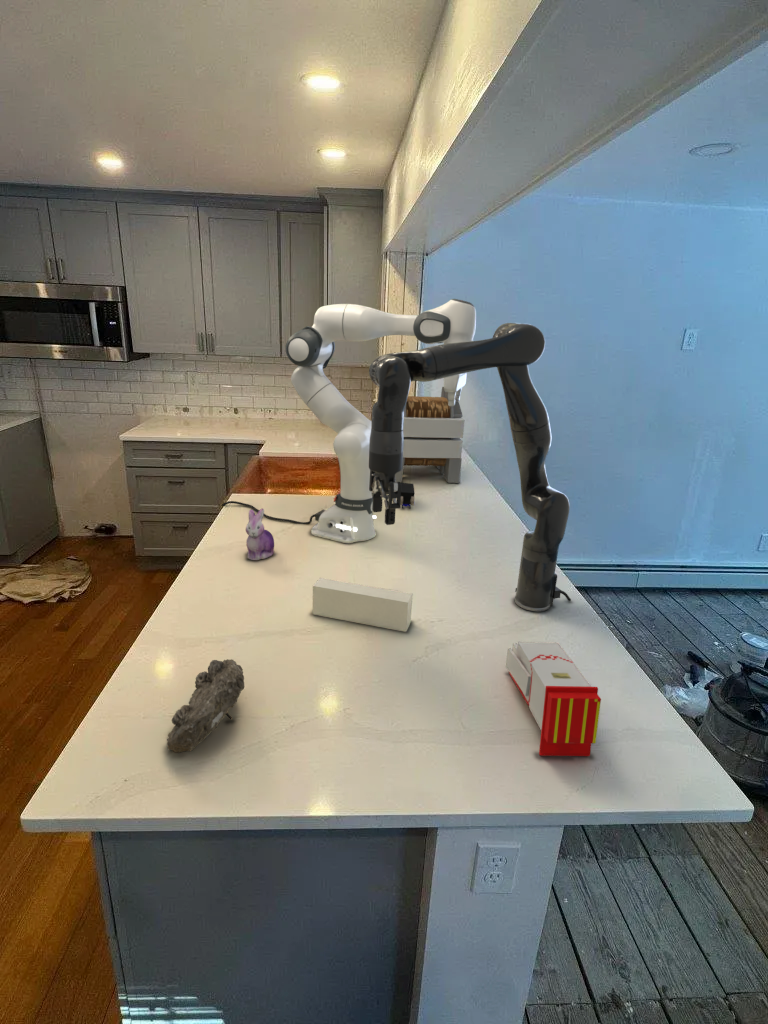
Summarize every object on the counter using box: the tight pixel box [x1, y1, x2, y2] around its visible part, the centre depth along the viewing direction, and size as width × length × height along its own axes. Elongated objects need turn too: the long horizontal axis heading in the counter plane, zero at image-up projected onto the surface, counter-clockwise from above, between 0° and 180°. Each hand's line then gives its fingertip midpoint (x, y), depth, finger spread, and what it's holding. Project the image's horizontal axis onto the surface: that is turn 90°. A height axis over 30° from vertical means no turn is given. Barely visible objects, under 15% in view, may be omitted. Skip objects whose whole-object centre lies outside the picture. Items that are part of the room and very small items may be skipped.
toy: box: [505, 641, 602, 757], centre depth 113 cm, size 12×13×30 cm
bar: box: [312, 577, 414, 633], centre depth 143 cm, size 25×5×8 cm, turn 74°
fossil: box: [166, 658, 245, 754], centre depth 106 cm, size 22×10×15 cm
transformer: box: [395, 386, 465, 484], centre depth 268 cm, size 34×33×41 cm
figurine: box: [245, 508, 275, 561], centre depth 176 cm, size 9×10×15 cm
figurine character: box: [401, 482, 416, 510], centre depth 228 cm, size 7×8×15 cm
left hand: (454, 403), depth 174 cm, fingers open, 8 cm apart
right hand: (383, 517), depth 131 cm, fingers open, 8 cm apart
